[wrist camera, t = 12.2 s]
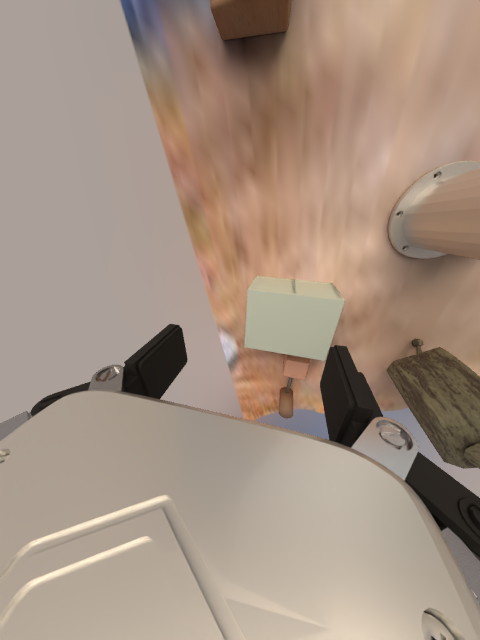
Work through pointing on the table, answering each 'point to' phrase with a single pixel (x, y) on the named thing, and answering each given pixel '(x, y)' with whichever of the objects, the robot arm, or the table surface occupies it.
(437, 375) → the tabletop clock
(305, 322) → the cubby shelf
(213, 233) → the table surface
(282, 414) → the corded block
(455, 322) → the table surface
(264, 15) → the wooden block
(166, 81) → the table surface
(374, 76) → the table surface
